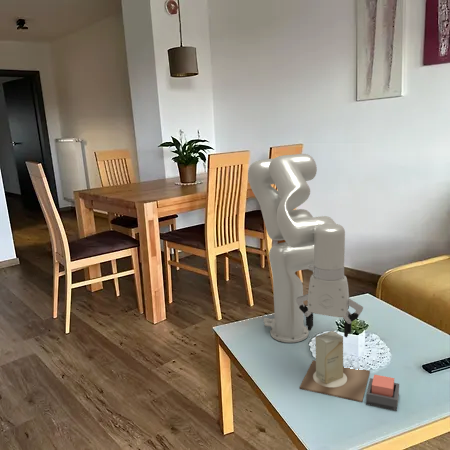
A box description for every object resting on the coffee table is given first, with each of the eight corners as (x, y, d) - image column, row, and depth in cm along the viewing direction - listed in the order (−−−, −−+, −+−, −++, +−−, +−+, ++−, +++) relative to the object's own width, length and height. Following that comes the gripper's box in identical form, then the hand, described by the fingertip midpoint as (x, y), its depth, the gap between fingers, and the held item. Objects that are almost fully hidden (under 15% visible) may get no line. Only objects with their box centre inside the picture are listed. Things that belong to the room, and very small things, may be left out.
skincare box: (326, 384, 113) (325, 343, 110) (315, 376, 117) (314, 336, 114) (344, 377, 116) (344, 336, 113) (332, 369, 120) (332, 329, 117)
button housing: (366, 404, 105) (366, 393, 105) (370, 388, 111) (370, 378, 111) (396, 411, 102) (397, 400, 101) (398, 394, 108) (399, 383, 108)
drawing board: (299, 388, 113) (299, 386, 113) (312, 361, 125) (312, 359, 125) (362, 402, 106) (362, 400, 106) (369, 372, 118) (369, 370, 118)
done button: (371, 393, 105) (371, 384, 105) (374, 383, 109) (374, 374, 109) (392, 398, 103) (392, 389, 102) (394, 387, 107) (394, 378, 107)
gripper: (291, 272, 110) (292, 332, 114) (361, 281, 102) (359, 344, 107) (300, 263, 116) (300, 319, 121) (366, 270, 109) (364, 330, 113)
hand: (328, 331), depth 114 cm, fingers open, 9 cm apart
